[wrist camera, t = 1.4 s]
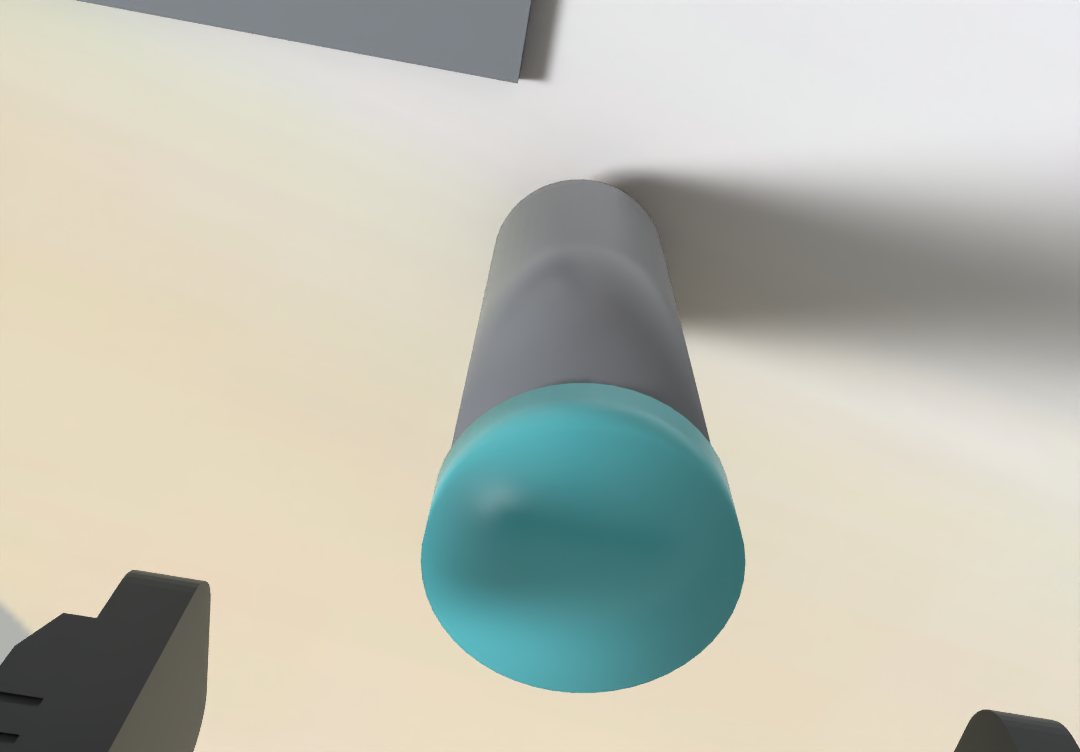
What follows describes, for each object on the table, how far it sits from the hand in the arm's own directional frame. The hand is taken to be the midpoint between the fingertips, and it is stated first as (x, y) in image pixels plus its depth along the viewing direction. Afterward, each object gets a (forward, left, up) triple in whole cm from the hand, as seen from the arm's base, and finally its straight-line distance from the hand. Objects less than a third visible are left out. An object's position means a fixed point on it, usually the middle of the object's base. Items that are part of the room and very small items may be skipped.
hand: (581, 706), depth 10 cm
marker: (0, 0, -15) cm, 15 cm away
